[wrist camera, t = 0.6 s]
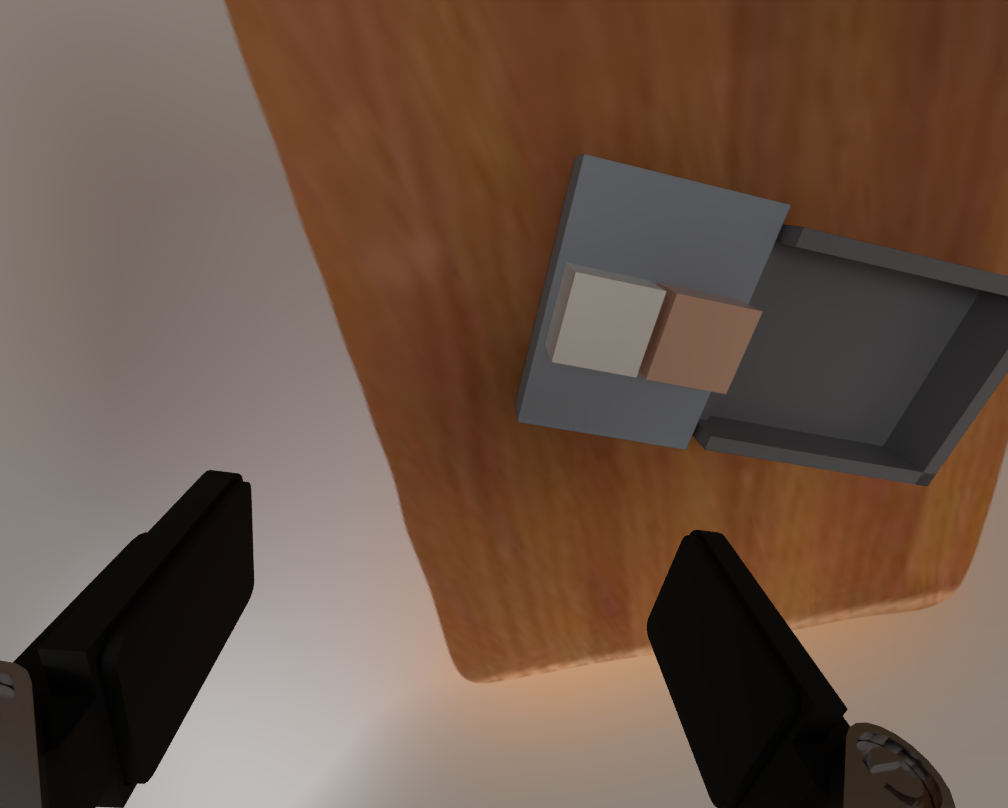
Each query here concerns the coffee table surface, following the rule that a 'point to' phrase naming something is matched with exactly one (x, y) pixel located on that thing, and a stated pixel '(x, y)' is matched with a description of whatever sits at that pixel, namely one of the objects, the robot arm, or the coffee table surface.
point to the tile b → (698, 339)
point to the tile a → (603, 320)
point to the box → (861, 359)
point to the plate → (651, 256)
